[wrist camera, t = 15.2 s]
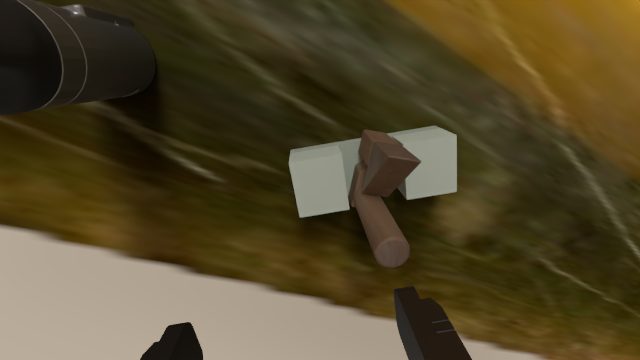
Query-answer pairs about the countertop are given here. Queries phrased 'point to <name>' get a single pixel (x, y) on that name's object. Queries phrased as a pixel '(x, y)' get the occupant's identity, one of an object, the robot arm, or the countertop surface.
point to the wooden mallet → (381, 194)
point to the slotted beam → (341, 157)
